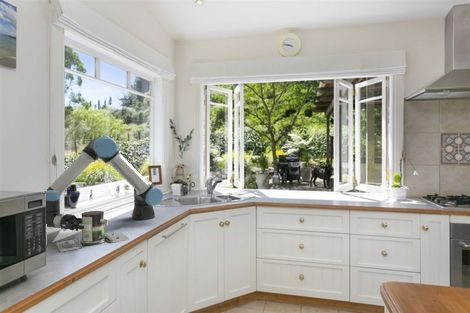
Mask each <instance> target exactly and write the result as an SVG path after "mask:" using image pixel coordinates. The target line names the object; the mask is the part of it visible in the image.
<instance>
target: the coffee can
mask: <svg viewBox="0 0 470 313" xmlns="http://www.w3.org/2000/svg"><path fill="white" fill-rule="evenodd" d="M80 214H81V218H82V224H89V225H91V230H90V231H88V230H81V241H82V243H87V244H89V243H98V242H101V241H103V240H104V234H105V228H104V227H105V225H104V219H105V216H104V214H105V212H104V211H102V210H92V211H91V210H90V211H84V212H82V213H80Z"/></svg>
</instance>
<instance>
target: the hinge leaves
mask: <svg viewBox="0 0 470 313" xmlns="http://www.w3.org/2000/svg"><path fill="white" fill-rule="evenodd" d="M129 239H130V237H129V236H127V235H126V234H124V233H123V232H122V231H118V232H111V233H104V240H103V241H101V242H98V243H89V244H87V243H82V240H81V241H79V240H78V239H77V238H73V239H68V240H63V241H57V242H55V246H57V248H58V251H59V252H60V253H63V252H67V251H73V250H80V249H82V248H83V246H85V247H87V246H89V247H91V246H98V245H102V244H105V243H106V242H109V243H110V244H111V243H117V242H118V243H119V242H123V240H124V241H129Z"/></svg>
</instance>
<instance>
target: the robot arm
mask: <svg viewBox="0 0 470 313" xmlns="http://www.w3.org/2000/svg"><path fill="white" fill-rule="evenodd" d="M80 152H81V154H80V155H79V156H78V157H77V158H76V159H75V160H74V161H73V162H71V164H70V165H69V166H68V167H67V168H66V169H65V170H64V171H63V172H62V173H61V174H60V175H59V177H58V178H56V180H54V181H53V182H52V184H51V185H50V186H48V187H47V189H46V190H47V191H46V190H45V191H43V192H45V193H46V224H47V228H55V229H61V230H69V231H75V232H78V231H79V230H81V231H82V230H88V231H90V230H91V225H89V224H82V217H77V216H76V215H75V214H69V213H61V195H62V194H63V193H64V192H65V191H66V190H67V189H68V188H69V187H70V186H71V185H72V184H73V183H74V182H75V181H76V179H77V178H79V177H80V175H81V174H82V173H83V172H84V171H85V170H86V169H87V168H88V167H89V166H90V164H92V163H95V162H96V161H97V160H98V159H100V160H101V161H102V162H103V163H104V164H109V165H110V166H111V167H112V168H113V169H114V170H115V171H116V172H117V173H118V174H119V175H121V177H122V178H123V179H124V180H125V181H126V182H127V183H128V184H129V185H131V187H133V201H134V202H133V204H134V205H133V210H132V213H131V219H132V220H137V221H143V220H144V221H146V220H151V219H154V218H156V212H155V209H154V208H153V206H158V205H159V204H160V203H162V201H163V199H164V192H163V190H162V189H161V188H159V186H158V187H157V186H156V185H155V184H154V183H153V182H152V180H147V179H146V178H145V177H144V176H143V175H142V174H141V173H140V172H139V171H138V170H137V169H136V168H135V167H134V166H133V164H131V163H130V162H129V161H128V160H127V159H126V158H125V157H124V155H122V153H121V152H122V149H120V148H119V147H118V144H117V142H116V141H115V140H114V138H112V137H110V136H97V137H94V138H92V139H91V140H90V141H89V142H88V144H87V145H86V146H84V148H83V149H82V150H81V151H80ZM105 225H106V226H108V225H109V219H107V218H104V226H105Z"/></svg>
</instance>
